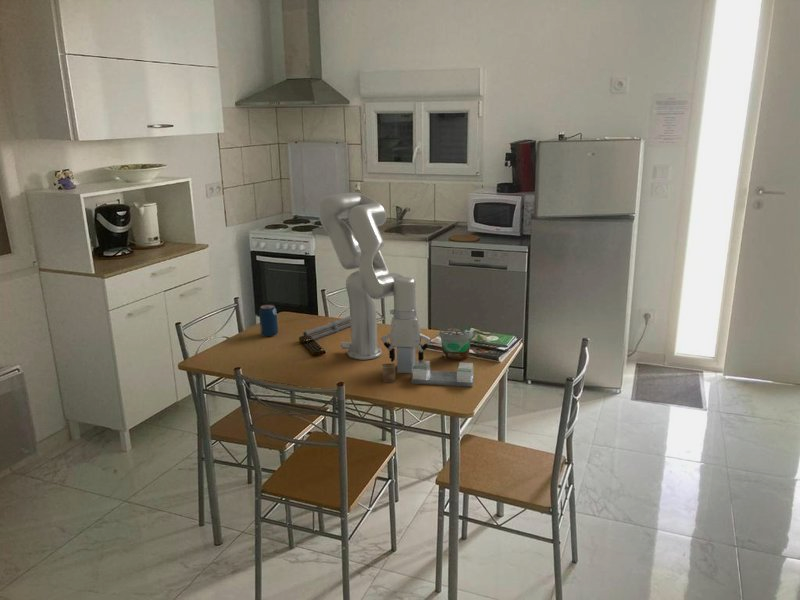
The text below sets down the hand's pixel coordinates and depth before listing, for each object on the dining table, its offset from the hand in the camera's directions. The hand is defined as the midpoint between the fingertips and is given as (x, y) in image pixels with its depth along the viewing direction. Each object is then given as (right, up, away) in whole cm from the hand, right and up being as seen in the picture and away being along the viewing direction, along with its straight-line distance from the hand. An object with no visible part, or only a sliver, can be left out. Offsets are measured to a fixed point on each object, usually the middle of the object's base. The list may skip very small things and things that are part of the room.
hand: (406, 361), depth 227 cm
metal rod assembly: (-31, +7, +39) cm, 50 cm away
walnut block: (-6, -6, -8) cm, 11 cm away
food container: (+18, 0, +9) cm, 20 cm away
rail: (+12, -5, -9) cm, 16 cm away
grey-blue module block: (0, -3, +1) cm, 3 cm away
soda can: (-55, +7, +40) cm, 68 cm away
